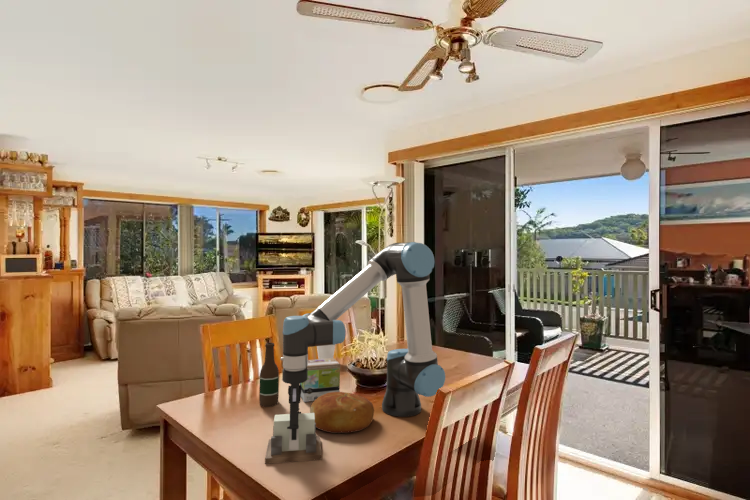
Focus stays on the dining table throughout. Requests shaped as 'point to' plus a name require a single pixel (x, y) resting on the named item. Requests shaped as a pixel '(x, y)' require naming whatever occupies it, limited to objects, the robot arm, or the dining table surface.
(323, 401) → the bread
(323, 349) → the cup
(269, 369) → the beer bottle
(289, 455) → the grey slab holder
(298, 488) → the dining table surface
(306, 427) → the cream flat block
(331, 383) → the tea box
